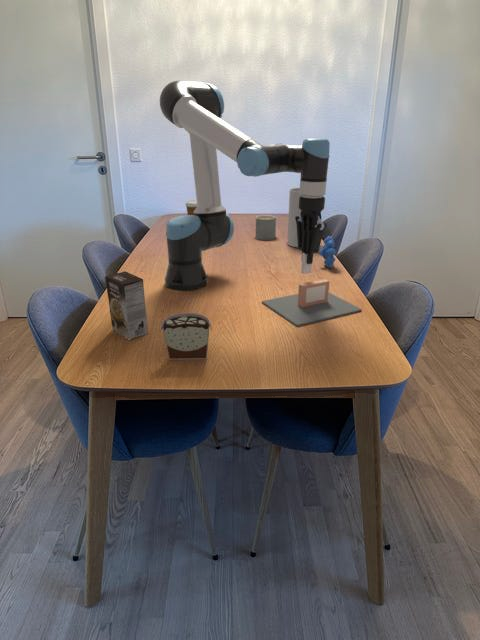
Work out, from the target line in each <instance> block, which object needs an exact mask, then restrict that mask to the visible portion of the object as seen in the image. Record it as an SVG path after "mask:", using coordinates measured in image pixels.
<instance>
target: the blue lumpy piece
mask: <svg viewBox="0 0 480 640" xmlns="http://www.w3.org/2000/svg"><path fill="white" fill-rule="evenodd" d="M323 243H324V245H323V246H322V247H321V248H319V251H318V254H319V255H320V256H321V257H322V258H323V259H324V261H323V264H324V266H326V267H327V268H329V269H331V268H332V267H333V266H334V264H335V261H336V258H335V257H334V256H335V255H336V253H337V251H336V250H335V248H334V247H335V246H336V243H335V240H334V238H333V237H332V236H331V235H328V236H326V238H325V239H324V240H323Z"/></svg>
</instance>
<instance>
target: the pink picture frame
mask: <svg viewBox="0 0 480 640" xmlns="http://www.w3.org/2000/svg"><path fill="white" fill-rule="evenodd" d="M329 290H330V281H329V280H328V279H326V278H324V279H319V280H313V281H309V282H303V283H299V284H298V293H297V294H298V306H300V307H306V306H311V305H315V304H320V303H324V302H328V292H329Z"/></svg>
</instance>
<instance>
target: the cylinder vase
mask: <svg viewBox="0 0 480 640" xmlns="http://www.w3.org/2000/svg"><path fill="white" fill-rule="evenodd" d="M299 191H300V187H293V188H289V197H288V221H287V241H286V243H287V245H288V246H289V247H293V248H297V249H299V248H298V238H297V224H296V220H295V217H296V216H299V215H300V213H301V210H300V209H299V197H300V196H301V195H300V193H299ZM301 244H302V243H301Z"/></svg>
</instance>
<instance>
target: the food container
mask: <svg viewBox="0 0 480 640" xmlns="http://www.w3.org/2000/svg"><path fill="white" fill-rule="evenodd" d="M211 324H212V323H211V321H210V319H209V318H208V317H206V316H205V315H202V314H199V313H194V312H192V313H191V312H189V313H188V312H185V313H178V314H174V315H170V316H168V317H165V319H163V321H162V322H161V325H160V332H163V336H164V341H165V347H166V352H167V357H168V360H169V361H170V359H178V360H177V361H180V360H181V361H182V360H207V359H208V352H209V351H208V350H209V338H210V331H213V327H212V325H211ZM210 329H211V330H210ZM179 359H180V360H179Z"/></svg>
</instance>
